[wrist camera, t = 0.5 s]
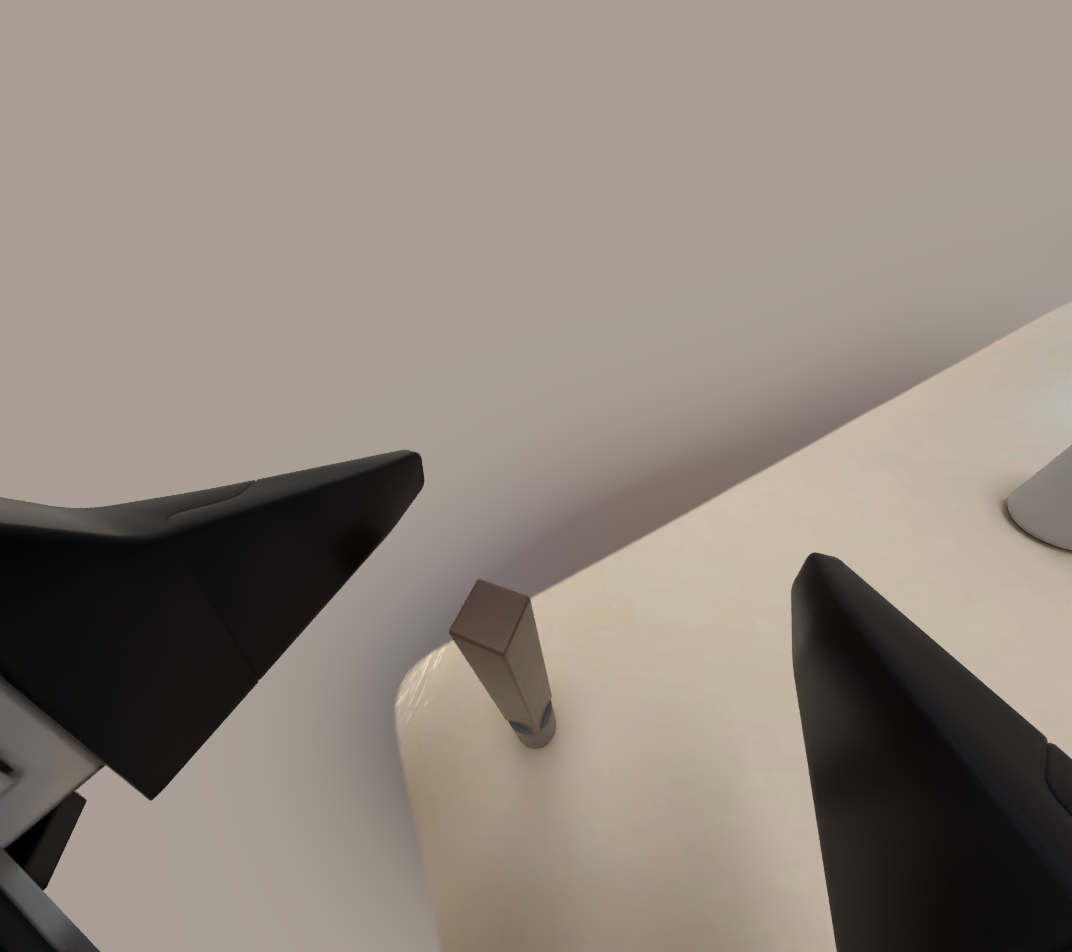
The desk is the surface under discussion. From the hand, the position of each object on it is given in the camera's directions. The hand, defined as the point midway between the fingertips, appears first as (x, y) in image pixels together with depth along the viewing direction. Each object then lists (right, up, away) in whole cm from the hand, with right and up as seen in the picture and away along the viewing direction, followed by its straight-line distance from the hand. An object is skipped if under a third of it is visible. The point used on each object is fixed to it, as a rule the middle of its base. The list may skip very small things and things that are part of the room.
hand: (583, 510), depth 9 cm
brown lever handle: (-1, -12, +10) cm, 16 cm away
